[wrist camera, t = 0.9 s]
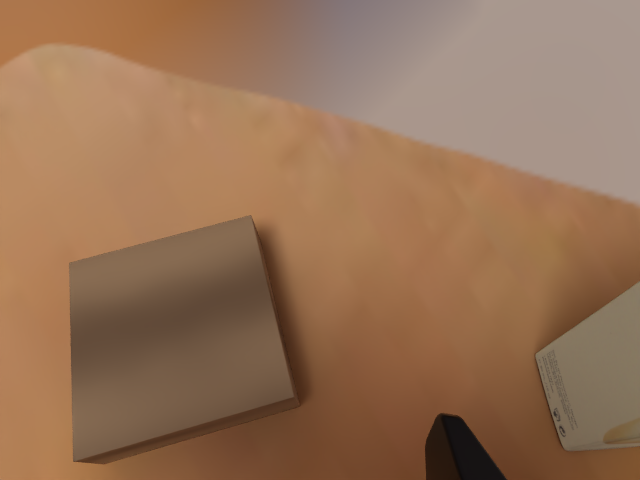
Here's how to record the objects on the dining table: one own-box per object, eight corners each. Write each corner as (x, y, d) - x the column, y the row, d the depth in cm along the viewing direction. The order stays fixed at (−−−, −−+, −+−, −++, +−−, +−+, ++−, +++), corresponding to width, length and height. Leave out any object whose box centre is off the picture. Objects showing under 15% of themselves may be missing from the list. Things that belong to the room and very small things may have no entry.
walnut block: (301, 407, 22) (294, 396, 19) (107, 464, 21) (73, 461, 19) (261, 242, 26) (251, 215, 23) (98, 286, 25) (69, 262, 23)
